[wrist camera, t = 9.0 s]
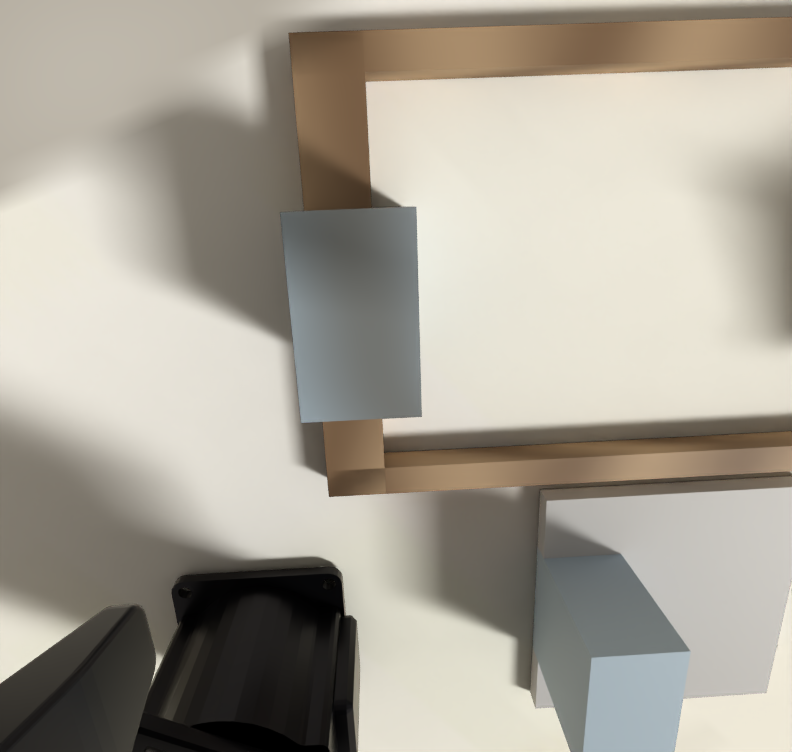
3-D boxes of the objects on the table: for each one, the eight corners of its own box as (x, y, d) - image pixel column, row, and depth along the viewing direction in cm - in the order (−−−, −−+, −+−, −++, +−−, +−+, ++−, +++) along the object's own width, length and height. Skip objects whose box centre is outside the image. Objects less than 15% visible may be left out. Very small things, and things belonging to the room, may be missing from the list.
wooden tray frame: (331, 480, 20) (316, 577, 15) (294, 45, 16) (255, -37, 10) (1056, 440, 21) (1288, 520, 15) (1212, 16, 16) (1609, -74, 11)
